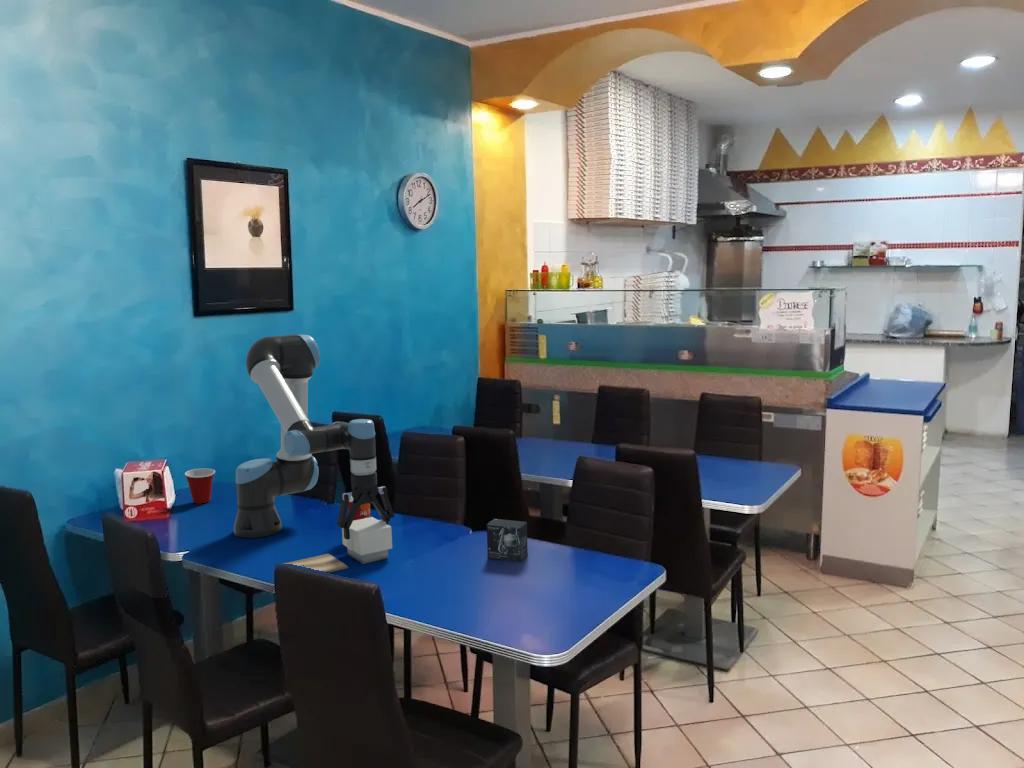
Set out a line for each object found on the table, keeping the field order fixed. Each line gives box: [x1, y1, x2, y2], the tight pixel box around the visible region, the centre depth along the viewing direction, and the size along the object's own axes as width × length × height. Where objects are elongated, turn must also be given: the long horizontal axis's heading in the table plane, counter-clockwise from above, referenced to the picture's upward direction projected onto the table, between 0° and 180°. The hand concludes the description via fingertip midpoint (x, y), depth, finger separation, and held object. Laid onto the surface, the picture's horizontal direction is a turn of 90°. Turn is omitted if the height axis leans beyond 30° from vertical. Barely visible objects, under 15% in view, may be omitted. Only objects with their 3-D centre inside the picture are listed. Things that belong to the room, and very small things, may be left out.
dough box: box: [346, 547, 389, 565], centre depth 246 cm, size 11×8×9 cm
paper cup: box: [348, 496, 371, 521], centre depth 264 cm, size 8×8×14 cm
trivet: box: [283, 553, 349, 574], centre depth 239 cm, size 14×14×1 cm
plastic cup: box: [184, 468, 216, 505], centre depth 311 cm, size 11×11×12 cm
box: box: [486, 518, 529, 563], centre depth 242 cm, size 11×7×10 cm, turn 68°
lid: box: [341, 516, 393, 555], centre depth 246 cm, size 13×10×7 cm
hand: (367, 545), depth 246 cm, fingers closed on lid, 10 cm apart
